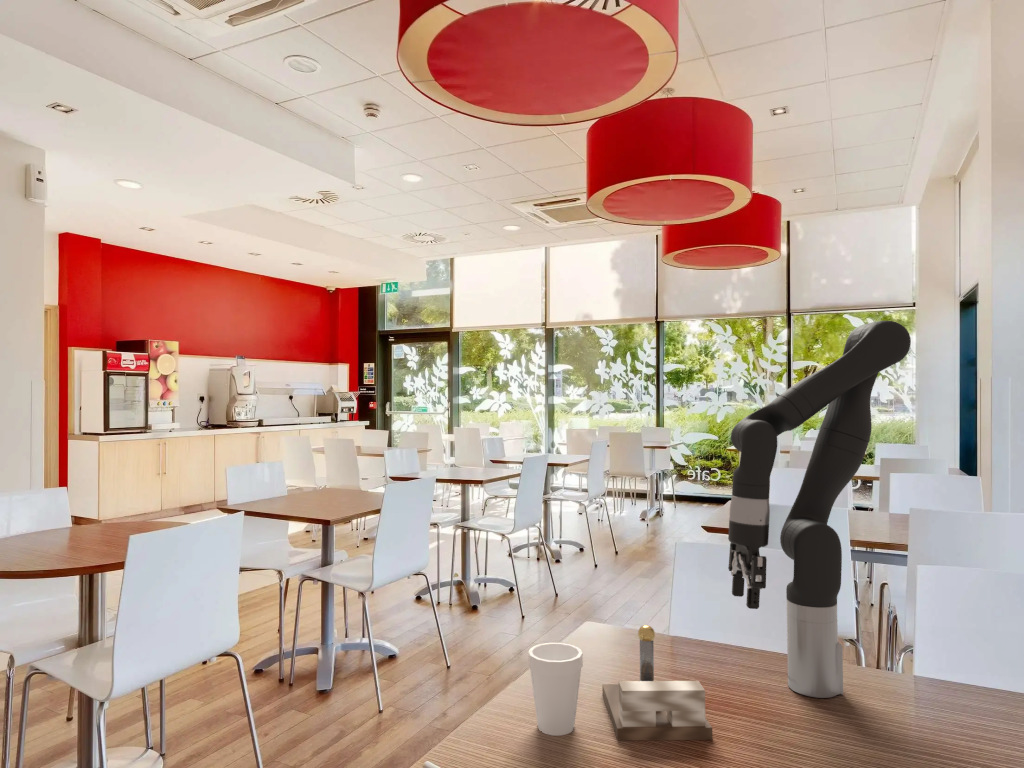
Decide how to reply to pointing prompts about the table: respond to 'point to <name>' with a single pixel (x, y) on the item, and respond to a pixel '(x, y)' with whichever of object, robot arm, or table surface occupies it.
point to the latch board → (650, 731)
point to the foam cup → (555, 685)
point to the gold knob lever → (646, 653)
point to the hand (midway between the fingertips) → (744, 601)
